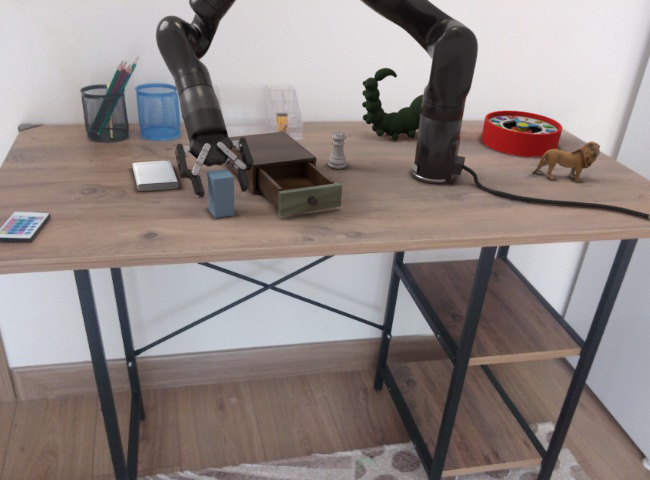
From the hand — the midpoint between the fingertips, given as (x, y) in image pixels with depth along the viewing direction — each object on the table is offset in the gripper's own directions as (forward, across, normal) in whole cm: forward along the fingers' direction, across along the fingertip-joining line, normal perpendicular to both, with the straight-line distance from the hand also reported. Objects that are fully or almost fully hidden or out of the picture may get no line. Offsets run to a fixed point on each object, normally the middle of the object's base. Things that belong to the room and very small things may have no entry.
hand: (223, 193), depth 123 cm
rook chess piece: (-8, +33, +15) cm, 37 cm away
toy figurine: (-17, +60, +24) cm, 67 cm away
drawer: (+1, +16, +4) cm, 16 cm away
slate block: (+2, 0, +4) cm, 5 cm away
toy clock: (-7, +87, +14) cm, 89 cm away
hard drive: (-12, -8, +19) cm, 24 cm away
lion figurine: (+9, +82, -1) cm, 82 cm away
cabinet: (-8, +16, +15) cm, 23 cm away
